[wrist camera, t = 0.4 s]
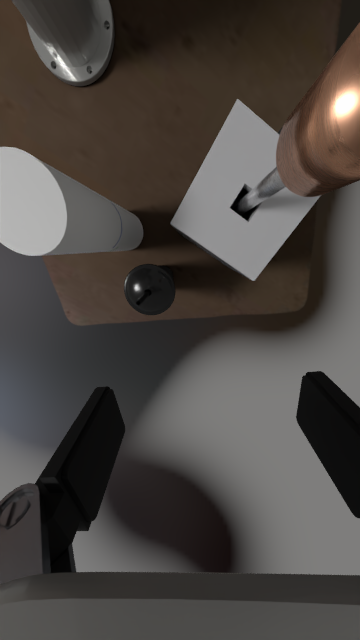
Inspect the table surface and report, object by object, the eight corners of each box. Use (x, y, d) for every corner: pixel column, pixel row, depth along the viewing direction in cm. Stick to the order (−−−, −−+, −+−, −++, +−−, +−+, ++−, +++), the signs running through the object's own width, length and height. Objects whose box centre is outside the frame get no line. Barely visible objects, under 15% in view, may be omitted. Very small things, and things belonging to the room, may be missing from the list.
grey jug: (227, 267, 39) (253, 281, 23) (178, 233, 37) (170, 223, 21) (281, 190, 34) (364, 139, 18) (228, 146, 32) (266, 46, 16)
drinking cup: (179, 294, 42) (171, 333, 23) (145, 294, 42) (110, 331, 23) (180, 258, 39) (170, 269, 20) (143, 258, 39) (101, 268, 21)
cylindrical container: (150, 230, 37) (85, 204, 14) (128, 257, 39) (39, 274, 16) (122, 202, 36) (-5, 118, 12) (100, 231, 38) (-43, 208, 15)
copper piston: (238, 259, 29) (382, 299, 7) (188, 225, 27) (184, 145, 6) (279, 201, 26) (740, -29, 4) (226, 159, 24) (507, -506, 3)
